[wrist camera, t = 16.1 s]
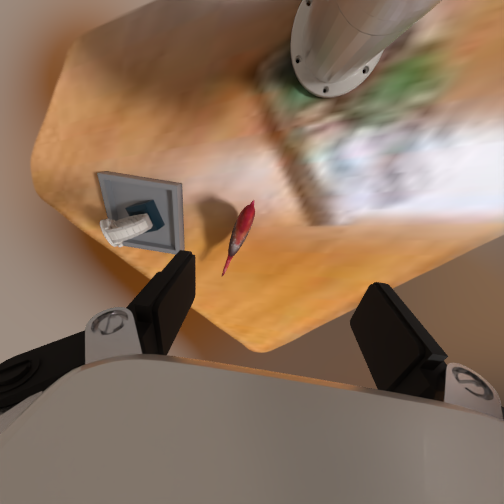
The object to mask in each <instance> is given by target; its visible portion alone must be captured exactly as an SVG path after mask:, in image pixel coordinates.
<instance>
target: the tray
mask: <svg viewBox="0 0 504 504" xmlns="http://www.w3.org/2000/svg"><path fill="white" fill-rule="evenodd" d="M97 174H98V179H99V183H100V187H101V191H102V196H103V200H104V204H105V208H106V213H107V217H108V219H111V220H115V221H118V220H120V219H123V218H127V217H128V218H129V215H128V213H127V211H126V209H125V208H126V207H129V206H131V205H133V204H136V203H140V202H145V201H149V200H154V202H155V204H156V206H157V209H158V211H159V213H160V215H161V217H162V220H163V222H164V224H165V225H164V226H163V227H161V228H160V229H159V230H158V231H152V232H147V233H142V234H140V235H138V236H136V237H135V236H134V237H133V238H131V239H128V240H125V241H123V243H122V244H123V246H128V247H134V248H141V249H147V250H153V251H159V252H165V253H171V254H177V253H178V252H179V251H180V250H184V224H183V196H182V183H176V182H170V181H164V180H158V179H152V178H146V177H139V176H133V175H127V174H121V173H115V172H109V171H105V172H99V173H97ZM123 220H124V219H123ZM132 229H133V228H132ZM133 231H134V230H133ZM127 233H128V232H127ZM134 233H135V232H134Z"/></svg>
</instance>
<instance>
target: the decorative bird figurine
mask: <svg viewBox="0 0 504 504" xmlns="http://www.w3.org/2000/svg"><path fill="white" fill-rule="evenodd" d="M254 216H255V208H254V200H253V201H252V202H251V204H250V205H247V206H246V207H245V208H244V209H243V210H242V211H241V213H240V215H239V216H238V219H237V221H236V223H235V226H234V228H233V231H232V235H231V239H230V244H229V249H228V258H227V261H226V264H225V267H224V270H223V273H222V276H223V275H224V273H225V271H226V269H227V267H228V265H229V263H230V261H231V259H232V258H233V256H234V255H235V254H236V253H237V251H238V250H239V248H240V247H241V246H242V244H243V242H244V241H245V239H246V237H247V235H248V233H249V230H250V228H251V226H252V223H253V219H254Z"/></svg>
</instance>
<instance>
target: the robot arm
mask: <svg viewBox="0 0 504 504" xmlns="http://www.w3.org/2000/svg"><path fill="white" fill-rule="evenodd" d="M441 1H442V0H302V2H301V4H300V6H299V8H298V11H297V14H296V16H295V20H294V24H293V28H292V34H291V44H290V53H291V62H292V66H293V69H294V72H295V75H296V77H297V79H298V81H299V82H300V83H301V85H302V86H303V87H304V88H305V89H306V90H307V91H308V92H310V93H311V94H313V95H315V96H318V97H322V98H334V97H338V96H341V95H343V94H346V93H348V92H350V91H351V90H353V89H354V88H356V87H357V86H358V85H359V84H360V83H362V82H363V81H364V80H365V79H366V78H367V77H368V76H369V74H370V73H371V72H372V70H373V69H374V67H375V66H376V64H377V63H378V61H379V59H380V57H381V55H382V53H383V51H384V49H385V48H386V47H387V46H388V45H389V44H391V43H392V42H393V41H394V40H395V39H397V38H398V37H399V36H400V35H401V34H403V33H404V32H405V31H406V30H407V29H409V28H410V27H411V26H412V25H413V24H415V23H416V22H417V21H418V20H419V19H421V18H422V17H423V16H424V15H426V14H427V13H428V12H429V11H430V10H432V9H433V8H434V7H435V6H436V5H437V4H439V3H440V2H441ZM307 3H310V6H307V5H306V4H307ZM296 60H299V63H296ZM363 70H365V73H364V74H363V72H362V71H363ZM323 89H326V92H325V93H323ZM194 298H195V255H192V252H190V251H184V250H180V251H179V252H178V253H177V254H176V255H175V256H174V258H173V259H172V260H171V261H170V262H169V263H168V265H167V266H166V267H165V268H164V269H163V270H162V272H158V273H156V275H155V276H154V277H153V278H152V279H151V280H150V281H149V283H148V284H147V285H146V286H145V287H144V288H143V289H142V290H141V292H140V293H139V294H138V295H137V296H136V297H135V298H134V300H133V301H132V302H131V303H130V304H129V305H128V307H126V308H123V307H115V308H110V309H107V310H104V311H102V312H100V313H98V314H96V315H95V316H94V317H93V318H91V319H90V321H89V322H88V323H87V325H86V329H85V331H82V332H79V333H77V334H74V335H71V336H68V337H66V338H63V339H60V340H58V341H55V342H52V343H50V344H47V345H44V346H41V347H39V348H36V349H33V350H31V351H28V352H25V353H22V354H20V355H17V356H15V357H12V358H10V359H8V360H6V361H4V362H3V363H1V364H0V504H504V407H502V406H501V403H500V399H499V396H498V394H497V392H496V391H495V390H494V388H493V387H492V386H491V385H490V384H489V383H488V382H487V381H486V380H485V379H484V378H483V377H481V376H480V375H479V374H477V373H476V372H474V371H473V370H471V369H469V368H468V367H465V366H464V365H460V364H458V363H450V364H448V365H446V363H445V362H444V360H445V359H446V358H447V357H448V356H447V354H446V353H445V352H444V351H443V350H442V348H441V347H440V346H439V345H438V344H437V342H436V341H435V340H434V339H433V337H432V336H431V335H430V334H429V333H428V332H427V330H426V329H425V328H424V327H423V325H422V324H421V323H420V322H419V321H418V319H417V318H416V317H415V316H414V314H413V313H412V312H411V311H410V310H409V309H408V307H407V306H406V305H405V304H404V302H403V301H402V300H401V299H400V298H399V296H398V295H397V294H396V293H395V292H394V290H393V289H392V288H391V287H390V286H389V285H388V284H385V283H379V282H375V283H373V284H371V285H370V286H369V287H368V289H367V291H366V293H365V294H364V296H363V298H362V300H361V302H360V303H359V305H358V307H357V309H356V311H355V313H354V314H353V316H352V318H351V320H350V325H351V328H352V330H353V333H354V335H355V337H356V340H357V342H358V344H359V347H360V349H361V351H362V354H363V356H364V358H365V361H366V363H367V365H368V368H369V370H370V372H371V374H372V377H373V379H374V381H375V384H376V386H377V388H378V389H372V388H366V387H360V386H355V385H349V384H343V383H337V382H331V381H325V380H319V379H313V378H308V377H302V376H295V375H289V374H284V373H278V372H272V371H266V370H260V369H254V368H247V367H241V366H235V365H228V364H223V363H217V362H210V361H204V360H197V359H190V358H183V357H176V356H167V353H168V351H169V350H170V347H171V345H172V343H173V341H174V339H175V337H176V335H177V333H178V331H179V329H180V327H181V325H182V323H183V321H184V319H185V317H186V315H187V313H188V311H189V309H190V307H191V305H192V303H193V301H194Z"/></svg>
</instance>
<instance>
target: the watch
mask: <svg viewBox="0 0 504 504" xmlns="http://www.w3.org/2000/svg"><path fill="white" fill-rule="evenodd" d="M125 209H126V211H127V213H128V215H129V218H128V217H127V218H123V219H124V220H123V219H120V220H118V221H115V220H111V219H105V220H101V221H100V227H101V230H102V232H103V234H104V236H105V238H106V239H107V240H108V242H109V243H110V244H111V245H112V246H114V247H116V246H117V245H118V247H122V246H123V244H122V243H123V241H125V240H128V239H131V238H133V237H134V236H135V237H136V236H138V235H140V234H142V233H147V232H152V231H158V230H159V229H160V228H161V227H163V226H164V225H165V224H164V222H163V220H162V217H161V215H160V213H159V211H158V209H157V206H156V204H155V202H154V200H149V201H145V202H140V203H136V204H133V205H131V206H129V207H126V208H125ZM132 228H133V229H132ZM133 230H134V231H133ZM127 232H128V233H127ZM134 232H135V233H134Z"/></svg>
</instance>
